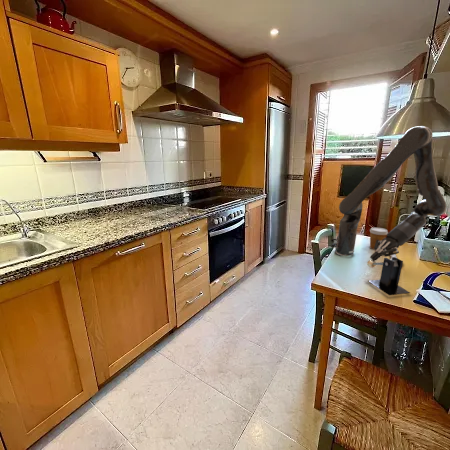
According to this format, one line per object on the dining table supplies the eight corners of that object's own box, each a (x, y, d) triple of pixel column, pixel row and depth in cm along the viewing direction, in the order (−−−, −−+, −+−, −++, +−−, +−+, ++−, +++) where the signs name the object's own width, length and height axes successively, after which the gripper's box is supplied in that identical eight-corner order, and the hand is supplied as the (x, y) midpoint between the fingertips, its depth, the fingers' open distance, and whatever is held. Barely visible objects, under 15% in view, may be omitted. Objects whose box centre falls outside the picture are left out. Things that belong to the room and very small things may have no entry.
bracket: (367, 283, 110) (372, 254, 106) (386, 281, 112) (392, 253, 108) (388, 297, 99) (395, 266, 95) (409, 295, 100) (416, 264, 96)
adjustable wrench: (387, 249, 149) (387, 246, 148) (400, 251, 145) (400, 248, 145) (388, 264, 128) (389, 261, 128) (403, 267, 125) (404, 264, 124)
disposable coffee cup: (384, 246, 153) (387, 228, 149) (385, 251, 145) (388, 232, 141) (367, 244, 157) (369, 226, 154) (366, 249, 149) (370, 230, 146)
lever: (366, 268, 115) (364, 260, 115) (372, 267, 115) (371, 259, 116) (392, 268, 100) (390, 259, 100) (400, 267, 101) (398, 258, 101)
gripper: (386, 224, 116) (358, 248, 119) (409, 232, 103) (377, 260, 106) (395, 234, 118) (367, 258, 120) (418, 243, 105) (386, 270, 108)
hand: (372, 259), depth 113 cm, fingers closed
